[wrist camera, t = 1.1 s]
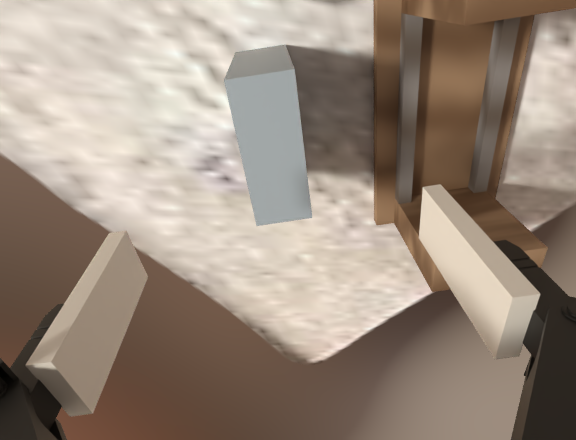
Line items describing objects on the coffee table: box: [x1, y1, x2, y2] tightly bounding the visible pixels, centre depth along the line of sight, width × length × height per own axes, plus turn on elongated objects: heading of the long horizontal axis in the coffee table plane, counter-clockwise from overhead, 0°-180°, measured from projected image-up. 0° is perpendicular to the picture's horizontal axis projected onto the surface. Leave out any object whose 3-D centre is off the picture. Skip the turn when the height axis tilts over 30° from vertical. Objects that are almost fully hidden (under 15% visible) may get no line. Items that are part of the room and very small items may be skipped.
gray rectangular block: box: [224, 45, 312, 226], centre depth 27 cm, size 10×4×10 cm, turn 8°
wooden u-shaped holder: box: [374, 0, 576, 292], centre depth 27 cm, size 22×12×11 cm, turn 8°
